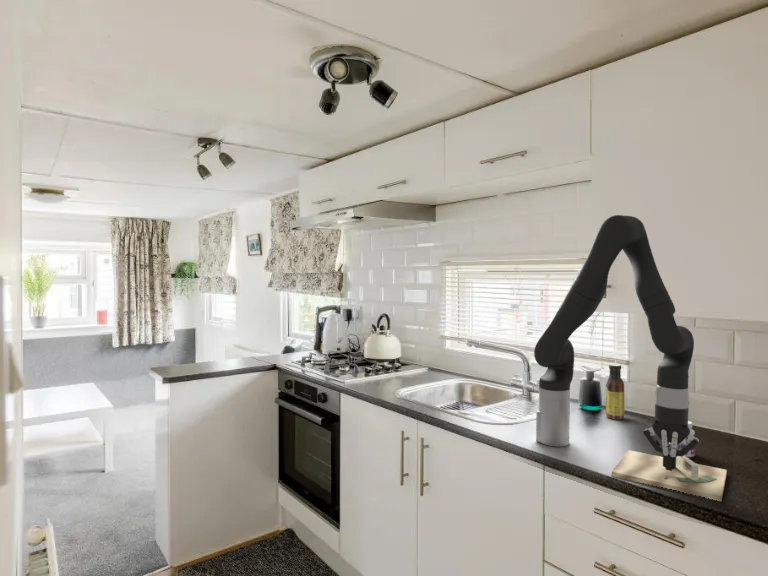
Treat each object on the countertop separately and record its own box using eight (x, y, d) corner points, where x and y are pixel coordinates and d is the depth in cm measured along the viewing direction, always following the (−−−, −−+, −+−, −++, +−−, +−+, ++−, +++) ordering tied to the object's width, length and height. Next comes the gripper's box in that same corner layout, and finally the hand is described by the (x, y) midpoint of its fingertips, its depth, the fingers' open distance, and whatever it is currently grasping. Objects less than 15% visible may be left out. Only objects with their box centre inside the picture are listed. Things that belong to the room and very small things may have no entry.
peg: (660, 461, 137) (661, 440, 137) (676, 462, 137) (676, 440, 137) (686, 483, 124) (686, 459, 123) (703, 484, 123) (703, 459, 123)
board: (611, 476, 132) (611, 470, 131) (628, 454, 147) (628, 449, 147) (721, 501, 117) (721, 495, 117) (726, 474, 133) (726, 469, 133)
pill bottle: (686, 450, 150) (687, 418, 150) (698, 457, 145) (699, 424, 145) (669, 451, 150) (669, 419, 150) (680, 457, 145) (681, 424, 144)
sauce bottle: (612, 414, 188) (613, 362, 188) (628, 418, 183) (629, 364, 183) (601, 417, 185) (602, 363, 184) (617, 421, 180) (618, 366, 179)
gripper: (640, 402, 130) (638, 467, 131) (700, 411, 122) (697, 481, 123) (645, 396, 136) (643, 459, 137) (703, 404, 128) (700, 471, 129)
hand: (669, 469), depth 130 cm, fingers closed
